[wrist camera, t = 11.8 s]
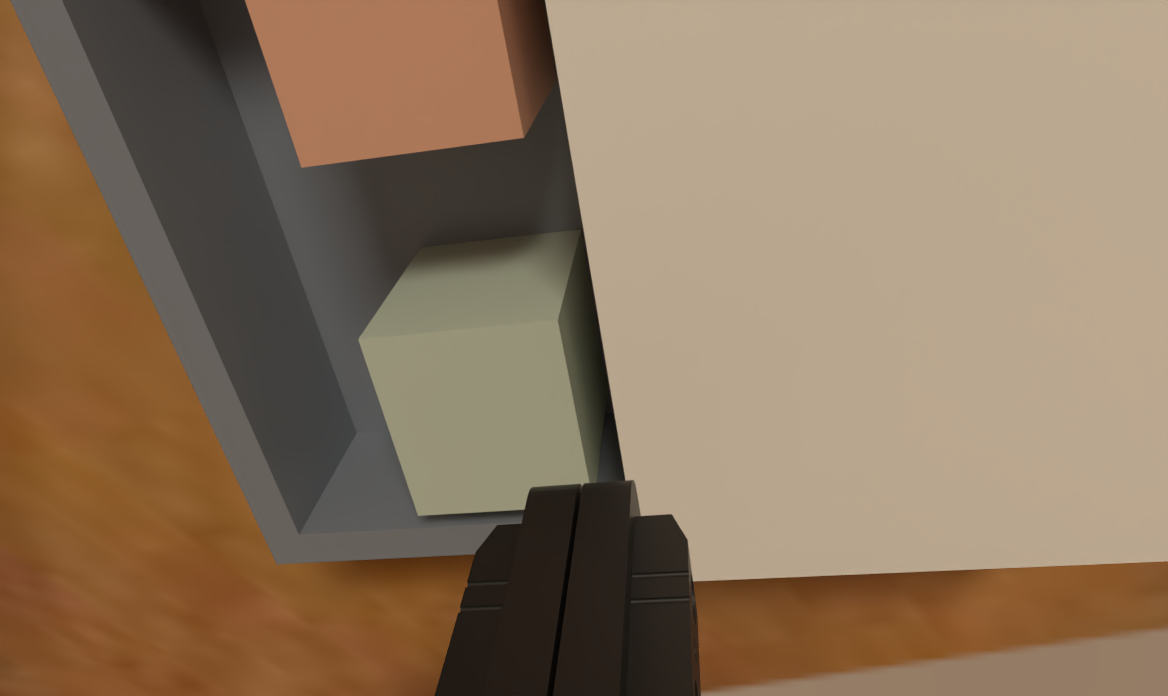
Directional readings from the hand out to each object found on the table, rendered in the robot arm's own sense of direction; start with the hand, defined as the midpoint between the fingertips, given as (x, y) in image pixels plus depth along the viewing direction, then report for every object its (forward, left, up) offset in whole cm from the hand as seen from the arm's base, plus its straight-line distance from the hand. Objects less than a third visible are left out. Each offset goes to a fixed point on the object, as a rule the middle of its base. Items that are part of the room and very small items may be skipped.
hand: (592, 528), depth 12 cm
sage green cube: (0, 0, -5) cm, 5 cm away
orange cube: (0, -7, -5) cm, 9 cm away
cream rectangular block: (-5, -4, -7) cm, 10 cm away
